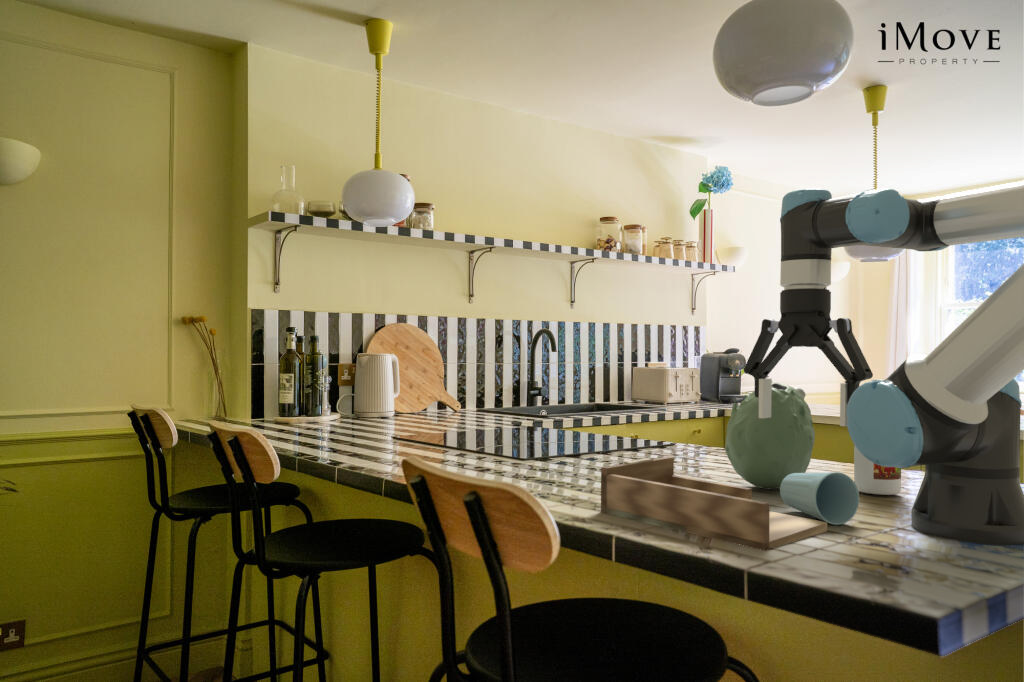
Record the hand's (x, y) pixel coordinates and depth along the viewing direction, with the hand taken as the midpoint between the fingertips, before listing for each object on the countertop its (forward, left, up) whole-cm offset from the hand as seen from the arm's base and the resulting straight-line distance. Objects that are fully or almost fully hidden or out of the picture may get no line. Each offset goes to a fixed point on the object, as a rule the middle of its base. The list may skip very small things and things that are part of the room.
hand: (803, 421), depth 117 cm
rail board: (+6, +18, -15) cm, 24 cm away
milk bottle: (0, -27, -15) cm, 31 cm away
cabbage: (+14, -15, -15) cm, 25 cm away
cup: (0, 0, -15) cm, 15 cm away
